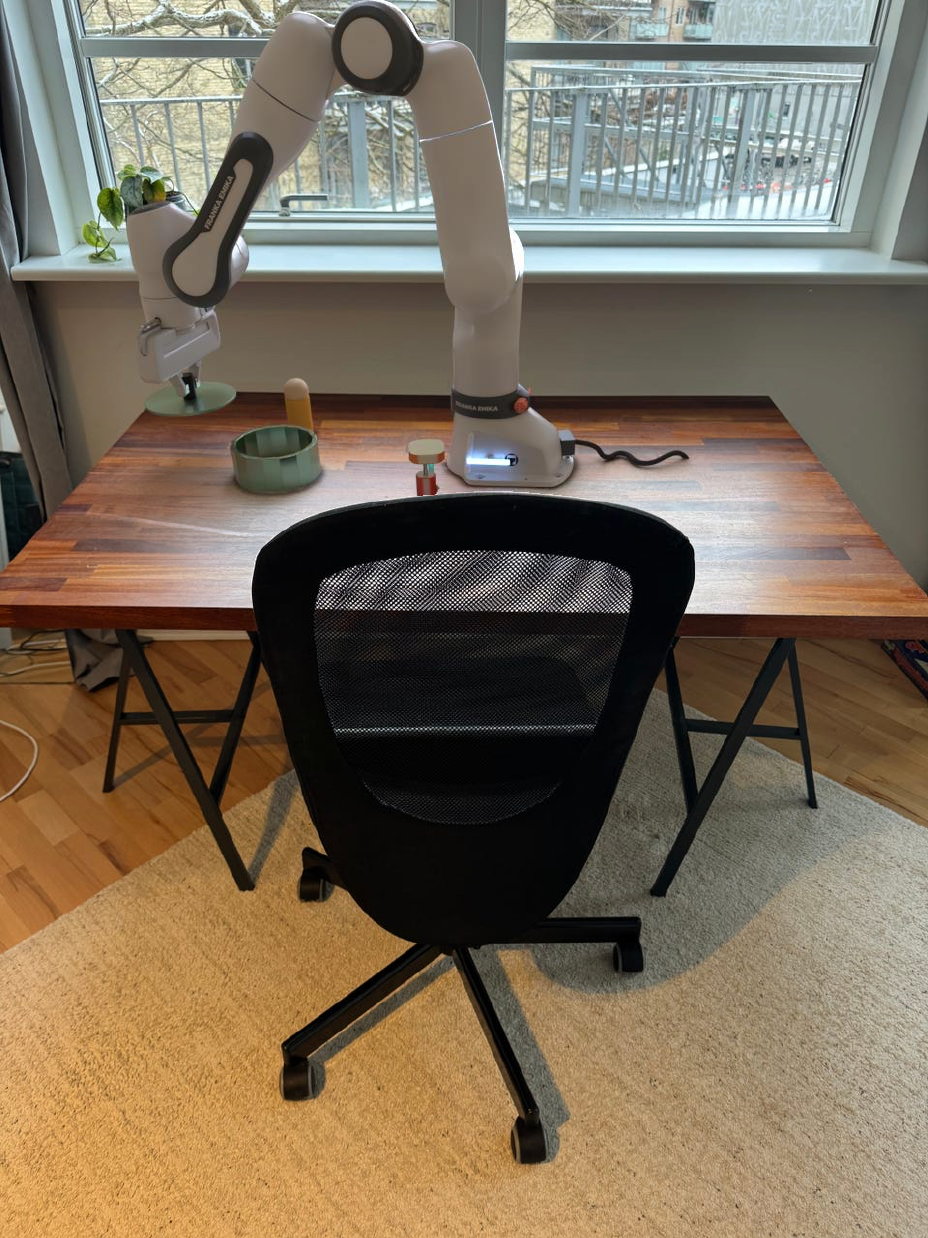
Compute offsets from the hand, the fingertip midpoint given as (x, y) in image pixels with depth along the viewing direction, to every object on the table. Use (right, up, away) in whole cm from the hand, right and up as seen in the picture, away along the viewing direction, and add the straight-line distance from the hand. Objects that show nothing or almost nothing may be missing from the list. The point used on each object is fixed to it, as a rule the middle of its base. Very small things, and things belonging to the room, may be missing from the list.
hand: (189, 391), depth 154 cm
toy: (+16, -4, +17) cm, 24 cm away
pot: (+15, -14, +2) cm, 21 cm away
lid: (0, -1, +1) cm, 2 cm away
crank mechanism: (+42, -28, -18) cm, 54 cm away
